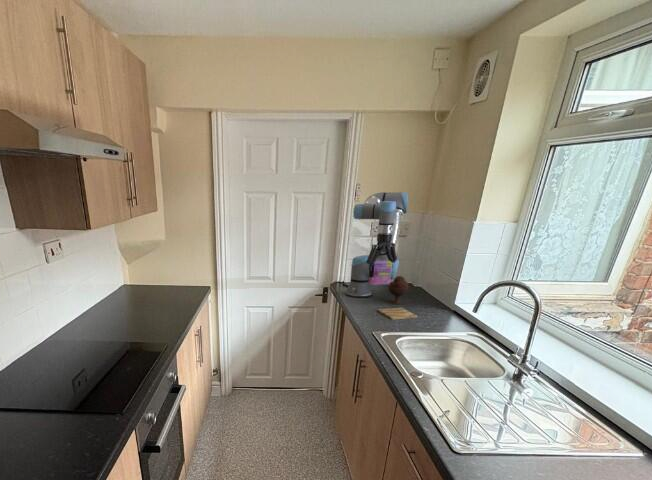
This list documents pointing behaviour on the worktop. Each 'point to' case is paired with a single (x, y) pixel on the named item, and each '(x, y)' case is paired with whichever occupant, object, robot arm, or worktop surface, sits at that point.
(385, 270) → the box
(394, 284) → the ice cream bowl
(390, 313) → the oak board
